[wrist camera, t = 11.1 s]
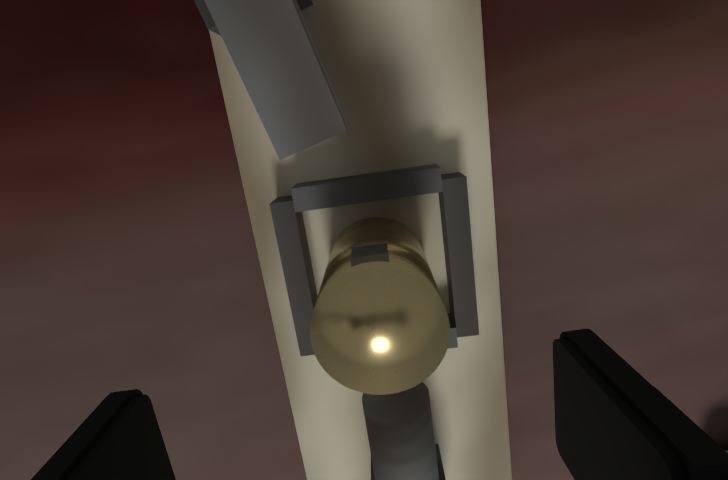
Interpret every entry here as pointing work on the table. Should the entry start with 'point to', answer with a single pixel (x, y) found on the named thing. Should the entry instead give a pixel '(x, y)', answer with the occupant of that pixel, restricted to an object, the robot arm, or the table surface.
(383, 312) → the yellow round-topped cylinder
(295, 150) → the stand
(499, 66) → the table surface
